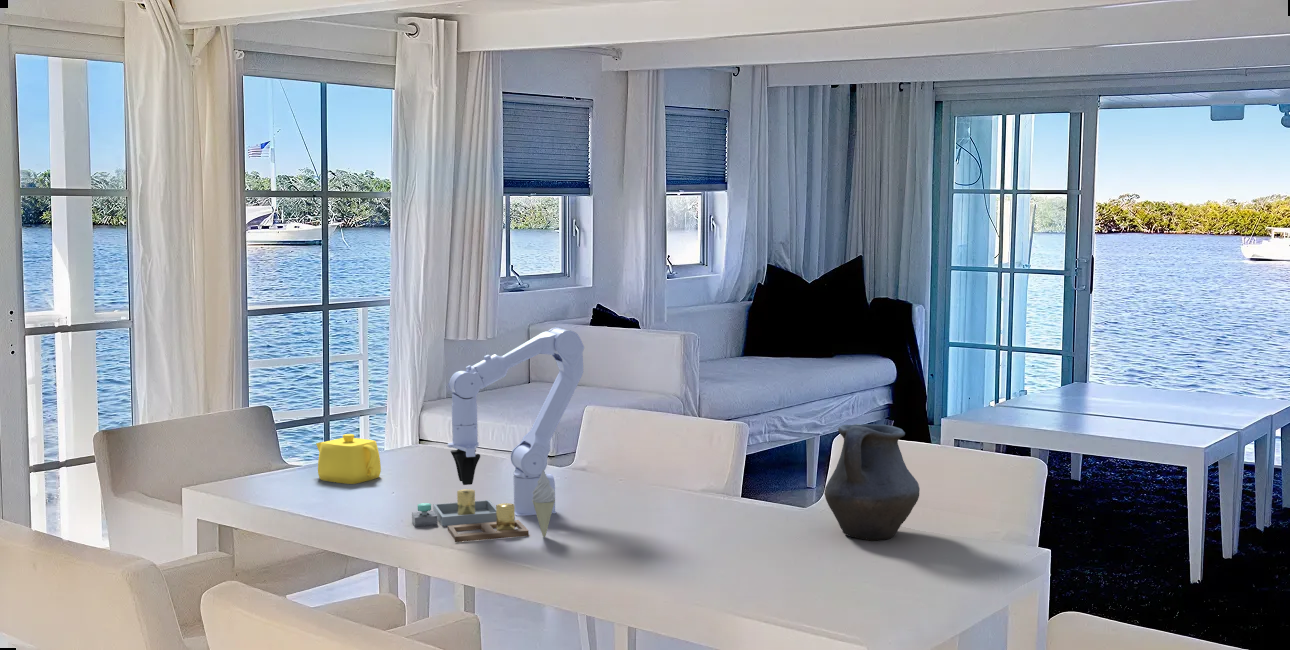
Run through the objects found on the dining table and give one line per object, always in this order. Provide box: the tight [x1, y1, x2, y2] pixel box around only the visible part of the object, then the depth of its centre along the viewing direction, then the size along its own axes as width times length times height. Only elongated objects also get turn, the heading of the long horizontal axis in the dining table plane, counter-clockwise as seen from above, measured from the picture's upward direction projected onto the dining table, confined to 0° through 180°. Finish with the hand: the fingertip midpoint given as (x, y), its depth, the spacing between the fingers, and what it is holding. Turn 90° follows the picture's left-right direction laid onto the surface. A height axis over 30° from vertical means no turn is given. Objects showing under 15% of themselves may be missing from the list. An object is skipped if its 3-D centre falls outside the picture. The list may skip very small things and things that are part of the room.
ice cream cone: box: [532, 469, 556, 538], centre depth 280 cm, size 5×5×15 cm
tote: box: [432, 499, 496, 527], centre depth 297 cm, size 13×13×2 cm
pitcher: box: [823, 423, 920, 542], centre depth 279 cm, size 21×22×25 cm
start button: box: [417, 502, 432, 516], centre depth 291 cm, size 3×3×4 cm
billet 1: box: [456, 488, 476, 515], centre depth 297 cm, size 4×4×6 cm
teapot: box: [315, 433, 382, 485], centre depth 342 cm, size 20×12×12 cm, turn 59°
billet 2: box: [495, 502, 516, 531], centre depth 285 cm, size 4×4×6 cm
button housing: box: [411, 510, 439, 528], centre depth 291 cm, size 5×5×2 cm
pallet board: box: [447, 519, 530, 543], centre depth 284 cm, size 16×10×1 cm, turn 108°
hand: (465, 482), depth 297 cm, fingers open, 4 cm apart
